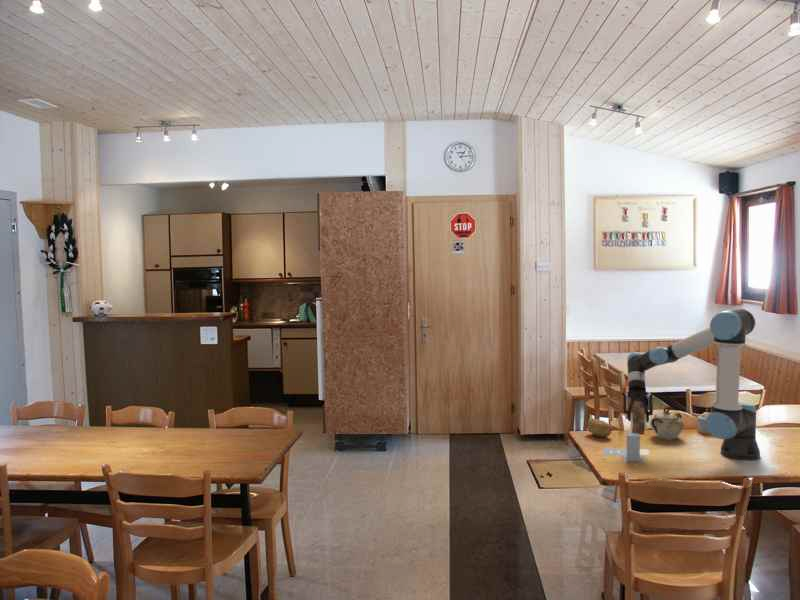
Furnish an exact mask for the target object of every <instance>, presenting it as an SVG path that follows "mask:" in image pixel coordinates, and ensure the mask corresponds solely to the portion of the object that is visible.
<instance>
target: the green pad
mask: <svg viewBox="0 0 800 600" xmlns="http://www.w3.org/2000/svg"><path fill="white" fill-rule="evenodd" d="M640 455H645V456H650V451H649V449H645V448H640Z"/></svg>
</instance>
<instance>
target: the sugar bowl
mask: <svg viewBox="0 0 800 600" xmlns="http://www.w3.org/2000/svg"><path fill="white" fill-rule="evenodd" d="M649 422H650V423H649V424H650V427H651V429H652V430H653V432H654V433H655V435H656V436H657V437H658V438H659V437H660V438H659V439H661V438H662V439H661V440H668V441H669V440H670V441H671V440H676V439H677V438H678V437H679V435H680V434H681V433H682V432H683V430H684V427H685V423H684V421H683V418H682V414H681V413H680V412H677V413H670V407H668V406H665V407H664V408H663V411H662V412H661V413H657V414H655V415H654V416H653V417H651V419H650V420H649Z"/></svg>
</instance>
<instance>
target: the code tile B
mask: <svg viewBox="0 0 800 600" xmlns="http://www.w3.org/2000/svg"><path fill="white" fill-rule="evenodd" d="M622 460H623V463H632V464H634V463H636V464H644V459H643V457H642V456H640V462H636V461H627V456H622Z"/></svg>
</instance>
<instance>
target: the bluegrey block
mask: <svg viewBox="0 0 800 600" xmlns="http://www.w3.org/2000/svg"><path fill="white" fill-rule="evenodd" d="M640 435H641V434H639V433H632V432H626V454H627V461H636V462H640V457H641V456H640V455H641V454H640V449H641V448H640V446H641V444H640V443H641V438H640V437H641V436H640Z"/></svg>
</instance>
